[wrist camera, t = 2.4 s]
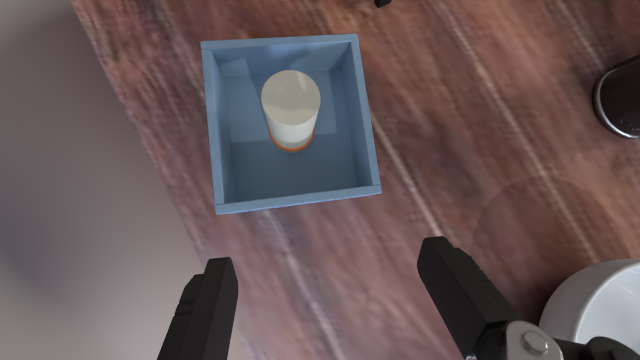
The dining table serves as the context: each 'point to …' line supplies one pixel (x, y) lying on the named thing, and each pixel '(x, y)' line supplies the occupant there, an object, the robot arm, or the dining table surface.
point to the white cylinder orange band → (291, 109)
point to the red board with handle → (381, 2)
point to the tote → (252, 128)
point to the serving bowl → (597, 304)
